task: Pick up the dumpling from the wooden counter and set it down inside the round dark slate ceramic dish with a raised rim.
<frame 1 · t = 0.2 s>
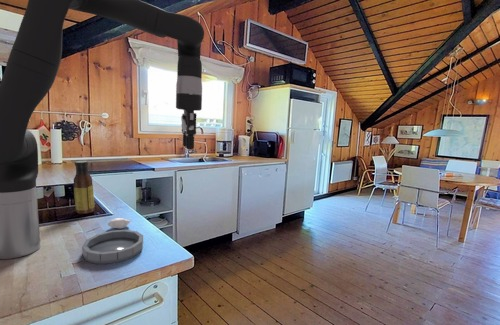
hand: (188, 147, 80), 29 cm above the worktop, tool pointing down, fingers open, 8 cm apart
dumpling: (119, 229, 87), on the worktop
sauce bottle: (85, 212, 100), on the worktop
round dish: (114, 250, 72), on the worktop
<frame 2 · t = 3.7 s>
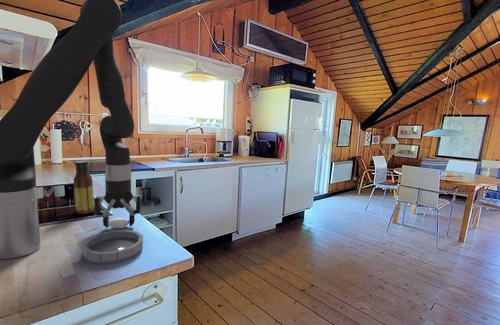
hand: (119, 226, 87), 1 cm above the worktop, tool pointing down, fingers closed on dumpling, 6 cm apart
dumpling: (120, 228, 87), on the worktop, touching gripper
everything else where it was.
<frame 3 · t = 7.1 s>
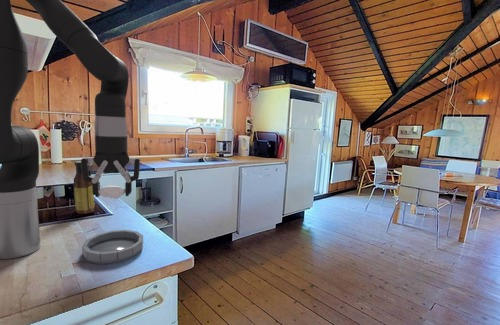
hand: (113, 195, 70), 16 cm above the worktop, tool pointing down, fingers closed on dumpling, 6 cm apart
dumpling: (113, 199, 70), point 15 cm above the worktop, touching gripper
everything else where it was.
when the fingers open (3 cm above the worktop, at t = 10.4 s): dumpling drops 2 cm, resting on round dish.
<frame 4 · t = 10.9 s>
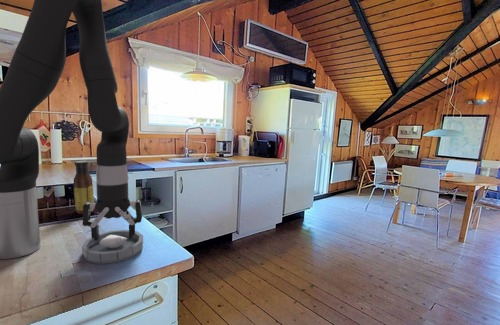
hand: (114, 238, 72), 4 cm above the worktop, tool pointing down, fingers open, 8 cm apart
dumpling: (114, 248, 72), point 1 cm above the worktop, touching round dish
everything else where it was.
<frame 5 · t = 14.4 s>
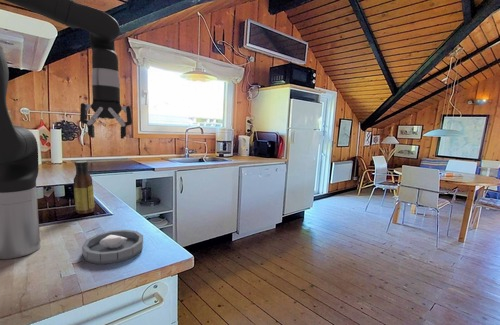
hand: (107, 138, 83), 30 cm above the worktop, tool pointing down, fingers open, 8 cm apart
nothing on the worktop moved.
at the end: dumpling inside the target area on the round dish (0.1 cm from its centre), point 0.6 cm above the round dish's base; the gripper is holding nothing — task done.
